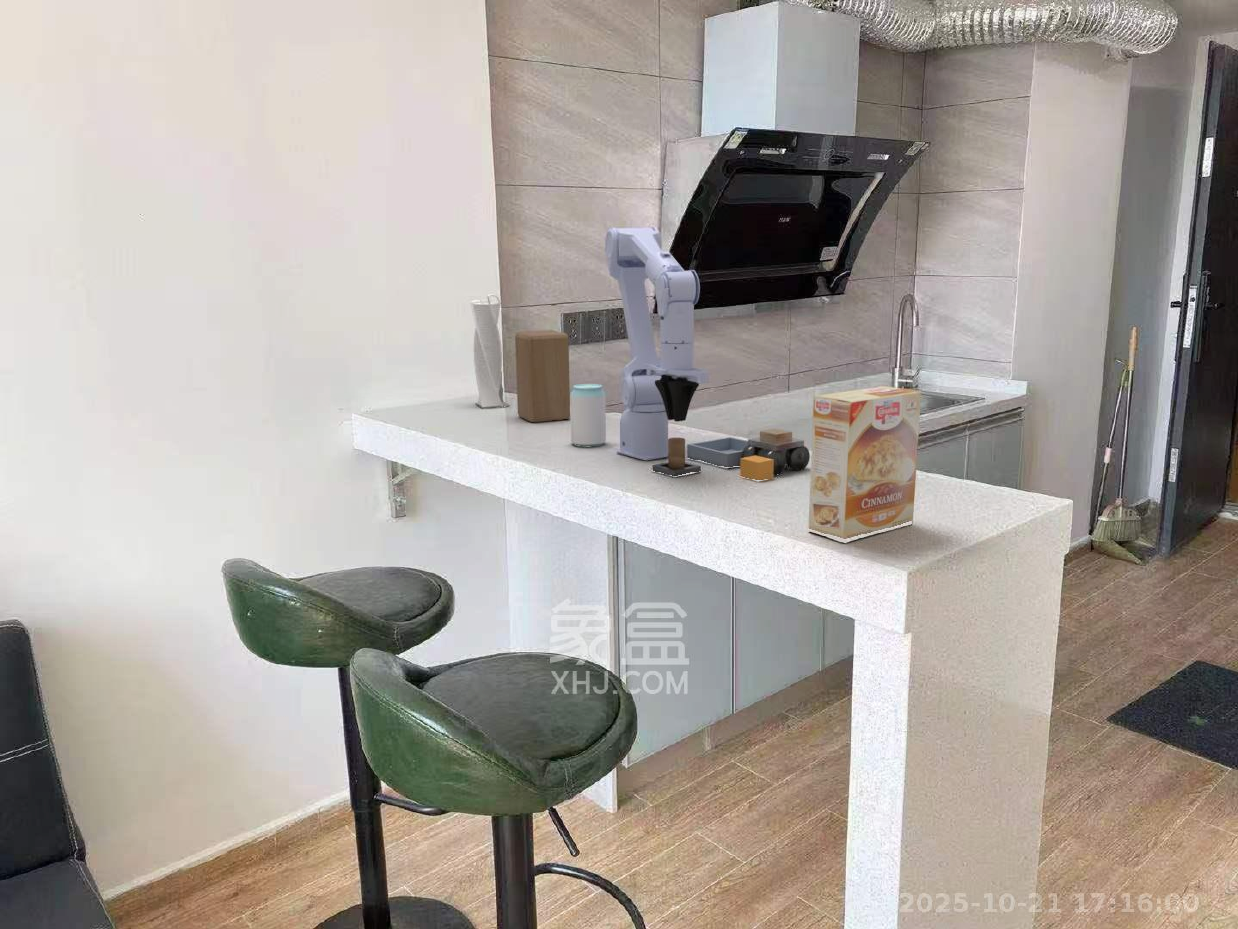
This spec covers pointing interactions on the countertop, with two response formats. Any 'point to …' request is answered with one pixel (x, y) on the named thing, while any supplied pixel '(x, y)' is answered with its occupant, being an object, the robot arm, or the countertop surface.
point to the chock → (756, 467)
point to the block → (542, 375)
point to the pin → (676, 453)
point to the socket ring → (664, 469)
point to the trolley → (779, 449)
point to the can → (588, 415)
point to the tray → (718, 451)
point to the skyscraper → (488, 353)
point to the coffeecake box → (863, 460)
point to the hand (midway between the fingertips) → (676, 420)
